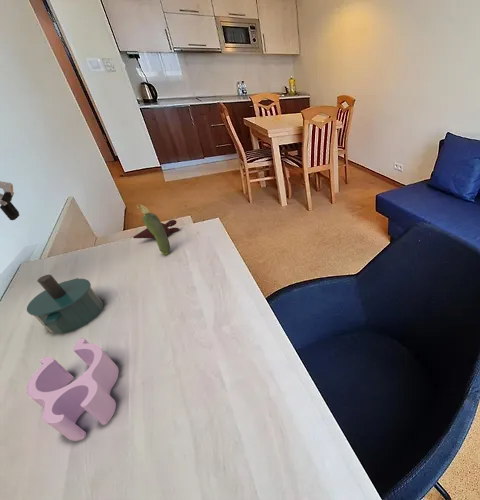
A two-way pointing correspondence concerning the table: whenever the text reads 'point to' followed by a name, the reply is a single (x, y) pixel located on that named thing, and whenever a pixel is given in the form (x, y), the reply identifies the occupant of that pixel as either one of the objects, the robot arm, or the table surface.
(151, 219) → the vegetable
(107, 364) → the clip
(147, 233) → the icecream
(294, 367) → the table surface
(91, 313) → the pot
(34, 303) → the pot lid
